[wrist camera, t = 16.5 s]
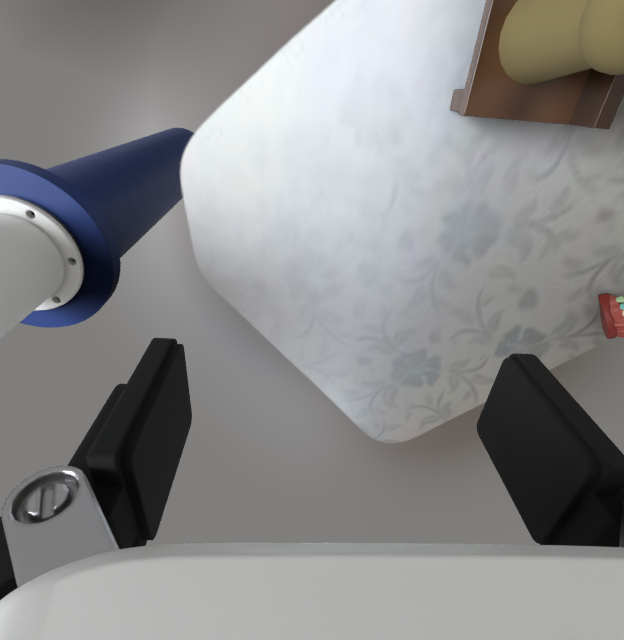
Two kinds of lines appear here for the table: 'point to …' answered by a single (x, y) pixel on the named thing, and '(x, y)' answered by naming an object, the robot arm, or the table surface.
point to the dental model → (612, 315)
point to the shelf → (532, 86)
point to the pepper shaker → (562, 39)
